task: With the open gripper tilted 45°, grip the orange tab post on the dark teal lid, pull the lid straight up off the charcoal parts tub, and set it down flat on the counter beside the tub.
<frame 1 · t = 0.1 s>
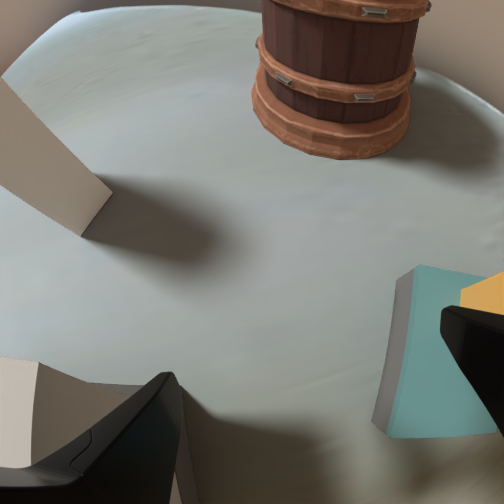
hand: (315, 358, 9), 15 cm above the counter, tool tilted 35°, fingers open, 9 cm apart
tub: (437, 356, 21), on the counter
milk: (84, 203, 30), on the counter
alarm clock: (94, 434, 22), on the counter
lid: (454, 356, 18), point 3 cm above the counter, touching tub
mug: (336, 86, 31), on the counter
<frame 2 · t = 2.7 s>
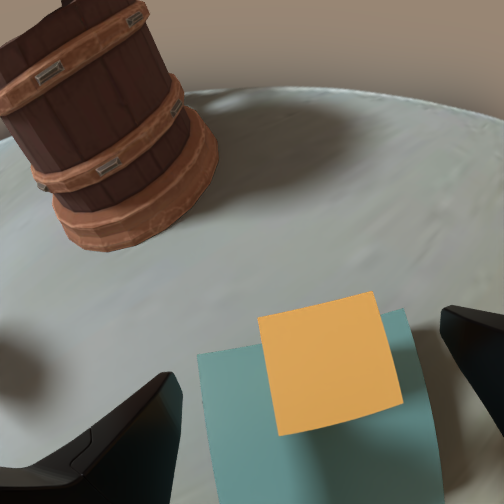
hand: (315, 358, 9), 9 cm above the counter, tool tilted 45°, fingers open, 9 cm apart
lid: (325, 454, 12), point 3 cm above the counter, touching tub
mug: (138, 160, 30), on the counter
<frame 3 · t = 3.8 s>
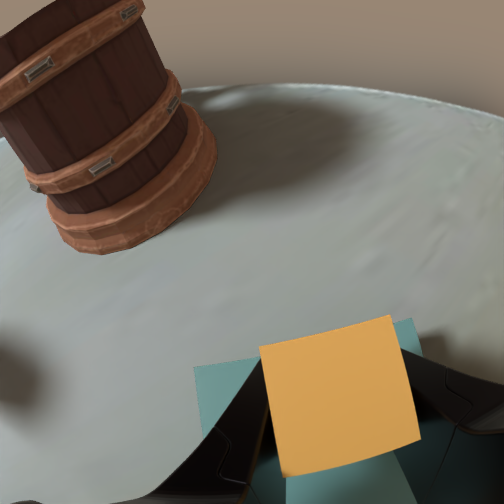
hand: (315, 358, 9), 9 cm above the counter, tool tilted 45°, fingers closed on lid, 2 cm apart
lid: (328, 468, 11), point 3 cm above the counter, touching gripper, tub
mug: (134, 159, 29), on the counter
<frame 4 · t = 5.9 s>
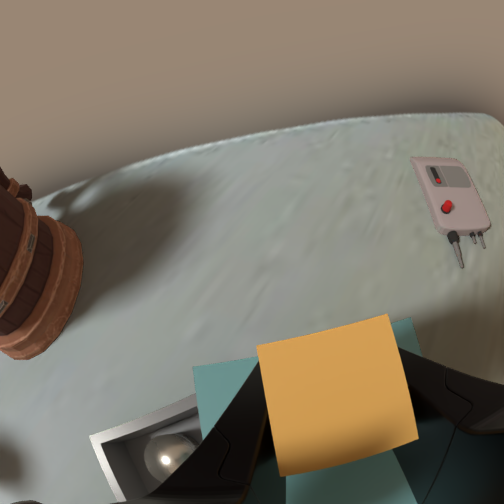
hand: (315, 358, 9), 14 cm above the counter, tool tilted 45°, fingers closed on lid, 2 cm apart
tub: (197, 482, 17), on the counter
shiny metal ball: (179, 457, 18), point 1 cm above the counter, touching tub
lid: (327, 468, 11), point 8 cm above the counter, touching gripper
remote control: (449, 204, 27), on the counter
mug: (32, 272, 30), on the counter
when the fingers open (7 cm above the counter, at t = 8.0 s): lid drops 1 cm, on the counter.
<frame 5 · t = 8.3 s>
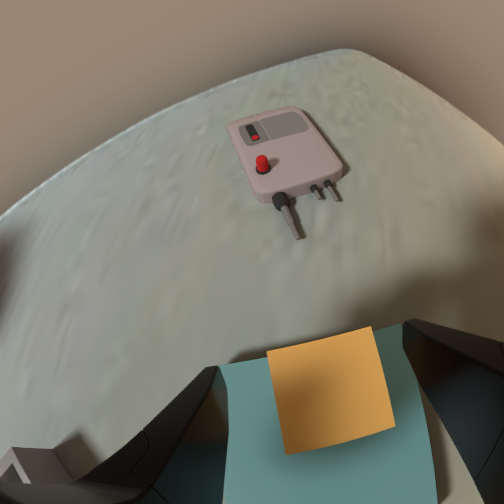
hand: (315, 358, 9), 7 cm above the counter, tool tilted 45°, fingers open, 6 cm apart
lid: (325, 459, 12), on the counter
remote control: (284, 162, 24), on the counter
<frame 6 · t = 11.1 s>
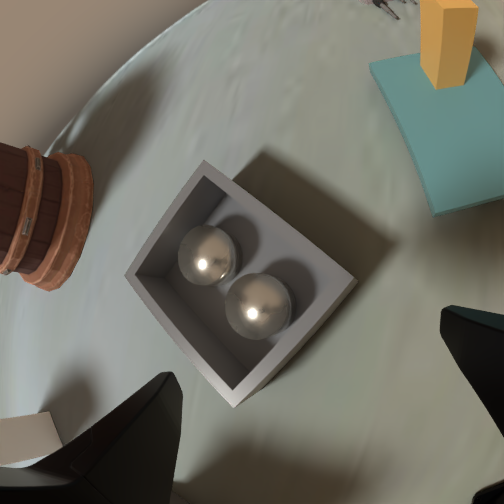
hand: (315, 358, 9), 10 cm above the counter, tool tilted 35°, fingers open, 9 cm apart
tub: (244, 281, 21), on the counter
silver rounded piece: (266, 305, 20), point 1 cm above the counter, touching tub
milk: (50, 431, 30), on the counter
shiny metal ball: (217, 258, 22), point 1 cm above the counter, touching tub
lid: (459, 127, 16), on the counter
mug: (53, 210, 34), on the counter
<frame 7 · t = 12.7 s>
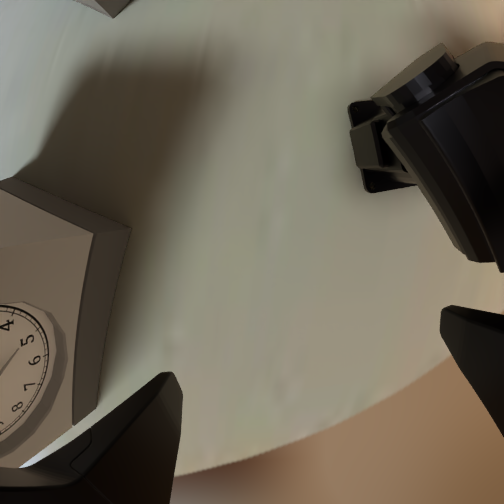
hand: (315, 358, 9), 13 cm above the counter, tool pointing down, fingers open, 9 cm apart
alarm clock: (39, 299, 23), on the counter
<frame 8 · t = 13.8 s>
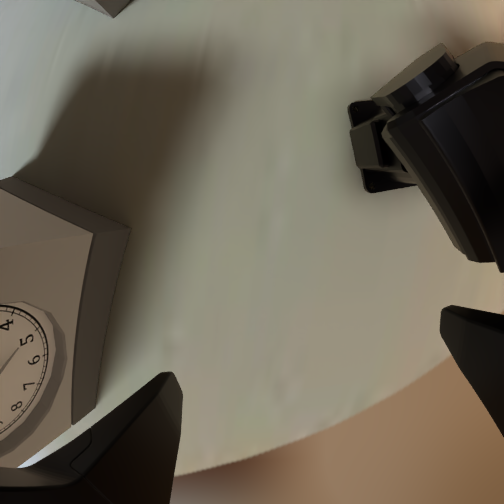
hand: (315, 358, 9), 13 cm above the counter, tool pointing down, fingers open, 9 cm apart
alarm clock: (38, 299, 23), on the counter
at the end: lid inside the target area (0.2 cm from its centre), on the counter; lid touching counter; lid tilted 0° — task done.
